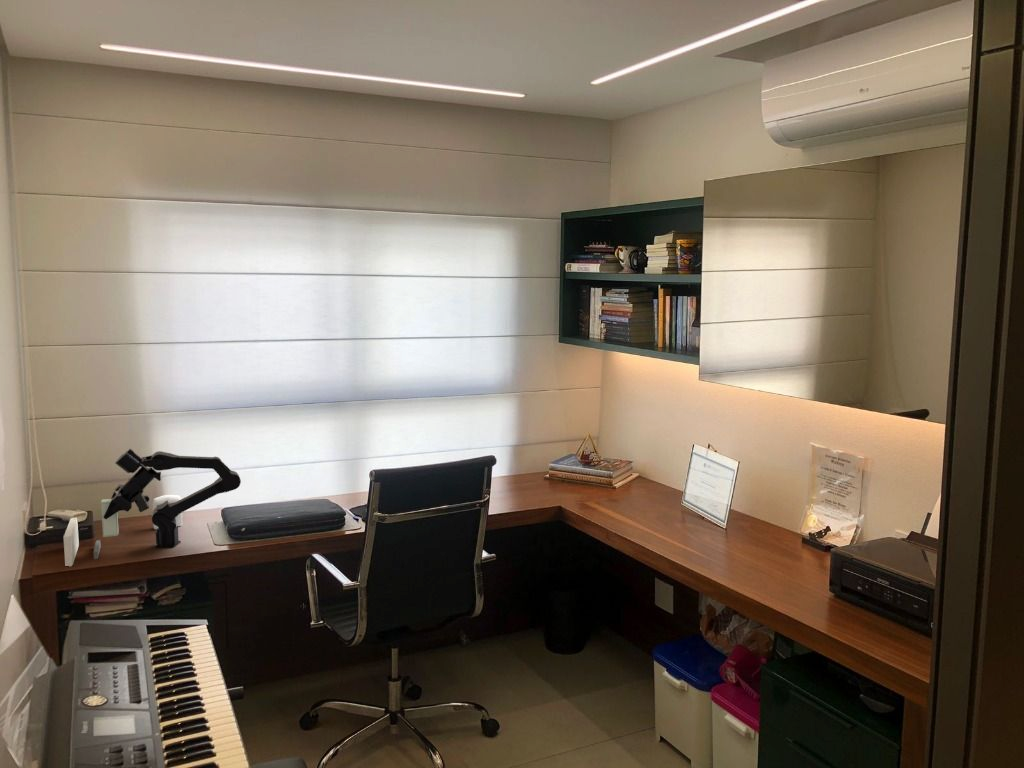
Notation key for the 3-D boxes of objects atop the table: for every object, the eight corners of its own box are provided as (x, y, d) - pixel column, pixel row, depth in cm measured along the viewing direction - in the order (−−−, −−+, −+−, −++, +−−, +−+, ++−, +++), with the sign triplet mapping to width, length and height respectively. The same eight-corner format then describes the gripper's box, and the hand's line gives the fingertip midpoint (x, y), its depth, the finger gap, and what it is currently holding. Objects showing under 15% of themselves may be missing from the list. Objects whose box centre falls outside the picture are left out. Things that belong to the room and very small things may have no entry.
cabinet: (118, 532, 287) (116, 498, 285) (117, 535, 282) (116, 501, 281) (103, 533, 285) (101, 499, 284) (102, 537, 280) (100, 502, 279)
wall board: (101, 542, 294) (100, 515, 293) (96, 563, 272) (95, 533, 271) (72, 545, 290) (70, 518, 289) (65, 566, 268) (63, 536, 267)
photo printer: (181, 523, 318) (179, 492, 317) (183, 526, 315) (182, 494, 313) (152, 527, 312) (151, 495, 311) (154, 530, 309) (153, 498, 307)
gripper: (157, 502, 280) (123, 538, 277) (157, 490, 297) (125, 523, 294) (130, 482, 276) (95, 517, 273) (132, 470, 293) (99, 504, 290)
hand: (105, 516), depth 282 cm, fingers closed on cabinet, 5 cm apart
